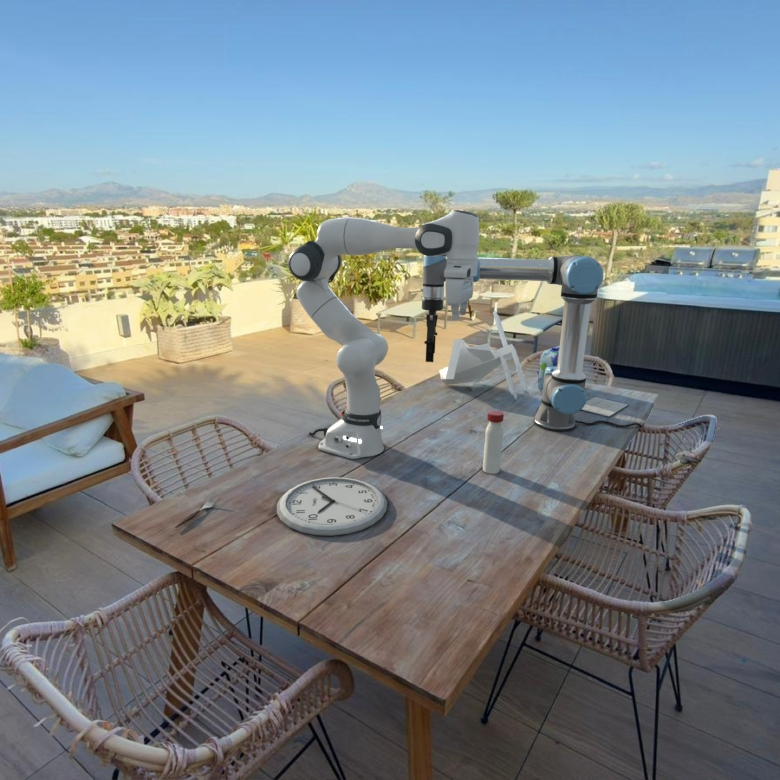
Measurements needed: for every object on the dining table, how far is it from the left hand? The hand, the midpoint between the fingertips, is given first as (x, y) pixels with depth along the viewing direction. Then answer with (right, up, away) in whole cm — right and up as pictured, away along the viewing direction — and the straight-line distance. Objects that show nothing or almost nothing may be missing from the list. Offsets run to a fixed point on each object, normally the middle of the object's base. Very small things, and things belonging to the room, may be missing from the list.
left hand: (459, 317), depth 155 cm
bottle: (+12, -47, +10) cm, 49 cm away
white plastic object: (+21, -23, +88) cm, 94 cm away
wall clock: (-36, -53, -12) cm, 66 cm away
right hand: (-6, -10, +35) cm, 36 cm away
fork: (-71, -54, -18) cm, 91 cm away
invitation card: (+71, -29, +71) cm, 105 cm away
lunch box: (+60, -21, +95) cm, 114 cm away
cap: (+12, -29, +5) cm, 32 cm away
